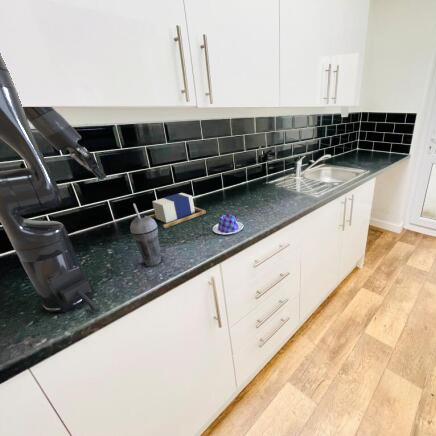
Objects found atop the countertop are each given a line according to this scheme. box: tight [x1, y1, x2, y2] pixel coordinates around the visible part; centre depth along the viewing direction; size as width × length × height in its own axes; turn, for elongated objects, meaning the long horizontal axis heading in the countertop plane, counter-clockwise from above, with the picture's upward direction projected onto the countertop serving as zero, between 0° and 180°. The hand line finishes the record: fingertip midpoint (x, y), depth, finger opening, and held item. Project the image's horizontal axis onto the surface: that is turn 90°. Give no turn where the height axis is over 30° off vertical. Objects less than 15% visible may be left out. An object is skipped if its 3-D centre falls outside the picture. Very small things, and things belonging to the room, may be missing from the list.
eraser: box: [151, 192, 196, 224], centre depth 113 cm, size 14×8×8 cm, turn 145°
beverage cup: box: [130, 203, 162, 267], centre depth 77 cm, size 7×7×20 cm
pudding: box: [212, 213, 245, 235], centre depth 101 cm, size 12×12×5 cm
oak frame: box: [148, 206, 207, 229], centre depth 113 cm, size 20×15×1 cm
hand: (103, 178), depth 86 cm, fingers closed
